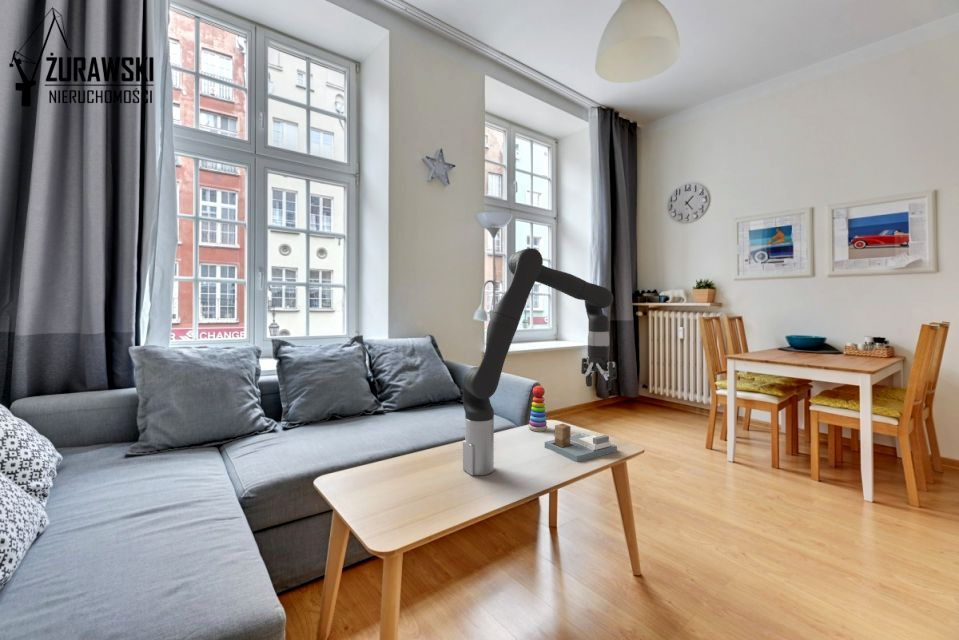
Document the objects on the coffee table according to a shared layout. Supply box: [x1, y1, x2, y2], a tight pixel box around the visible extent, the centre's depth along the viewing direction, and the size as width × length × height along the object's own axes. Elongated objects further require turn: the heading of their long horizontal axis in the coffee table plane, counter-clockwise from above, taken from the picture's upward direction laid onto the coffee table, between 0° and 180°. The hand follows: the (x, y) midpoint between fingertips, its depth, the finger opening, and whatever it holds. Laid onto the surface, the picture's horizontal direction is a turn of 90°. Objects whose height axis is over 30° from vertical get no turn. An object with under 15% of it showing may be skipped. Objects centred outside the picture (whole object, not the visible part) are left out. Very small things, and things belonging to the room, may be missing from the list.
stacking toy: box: [528, 385, 548, 432], centre depth 176 cm, size 8×8×19 cm
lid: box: [578, 434, 611, 450], centre depth 151 cm, size 8×8×4 cm
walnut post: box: [554, 423, 572, 448], centre depth 152 cm, size 4×4×9 cm
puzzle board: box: [544, 432, 618, 463], centre depth 153 cm, size 20×17×3 cm
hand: (598, 388), depth 149 cm, fingers open, 8 cm apart
